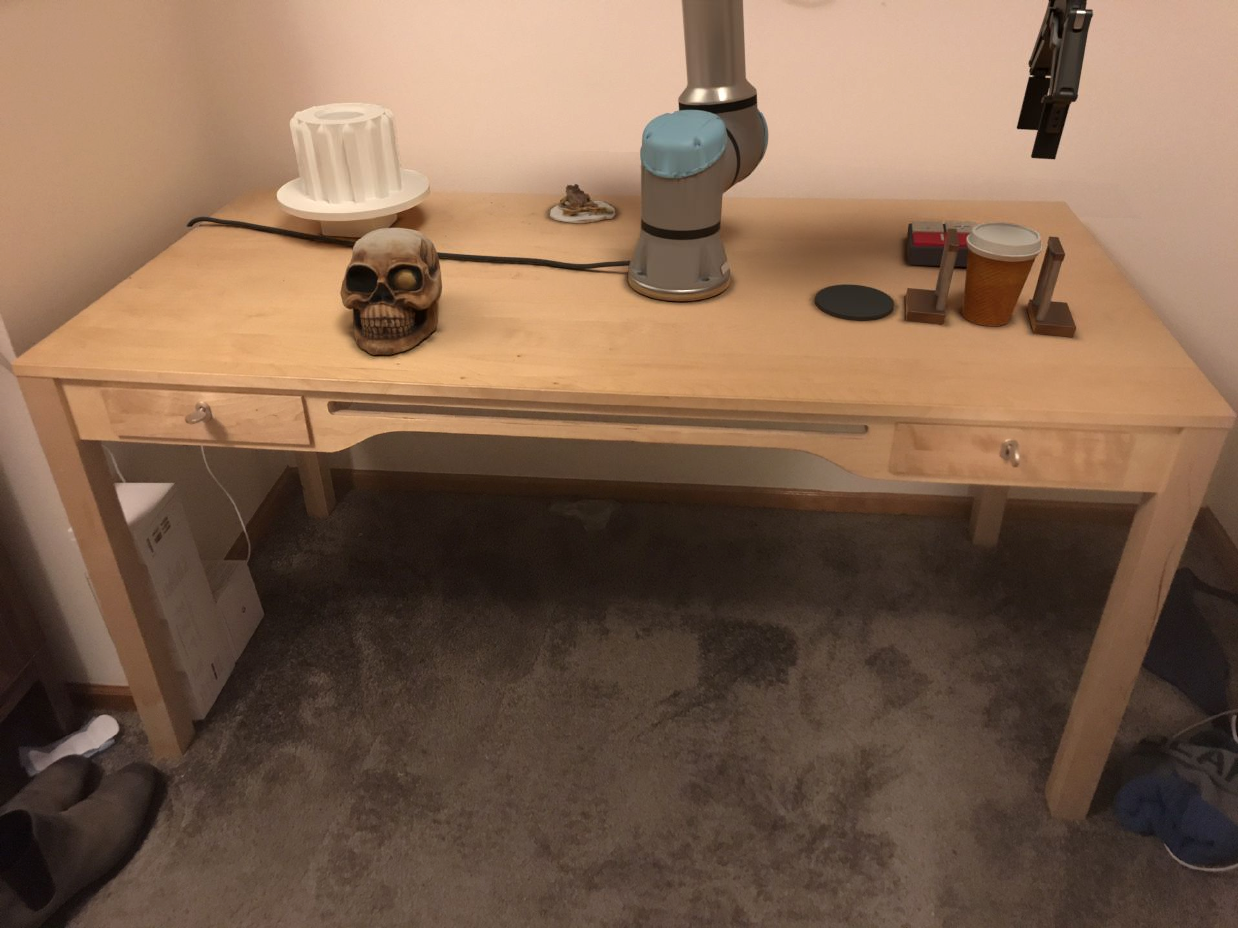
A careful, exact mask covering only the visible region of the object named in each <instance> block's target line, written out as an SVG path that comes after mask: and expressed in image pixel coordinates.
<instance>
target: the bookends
mask: <svg viewBox="0 0 1238 928" xmlns="http://www.w3.org/2000/svg"><path fill="white" fill-rule="evenodd" d="M1046 243H1047V245H1046V249H1045V253H1044V257H1043V260H1042V264H1041V267H1040V270H1039V275H1038V278H1037V281H1036V285H1035V289H1034V293H1033V296H1032V299H1031V298H1030V299H1029V300H1028V303H1027V307H1026V311H1027V314H1028V317H1029V322H1030V326H1031V329H1032V333H1033V334H1037V335H1044V336H1045V335H1046V336H1057V337H1058V336H1059V337H1064V338H1065V337H1067V338H1074V336H1075V333H1076V331H1077V326H1076V323H1075V321H1074V318H1073V315H1072V312H1071V309H1070V306H1069V304H1068V302H1063V301H1054V300H1052V298H1053V294H1054V292H1055V288H1056V284H1057V282H1058V278H1059V274H1060V272H1061V267H1062V264H1063V262H1064V261H1065V256H1066V253H1065V250H1064V247H1063V245H1062V241H1061V239H1060V237H1059V236H1048V240H1047V242H1046ZM958 249H959V241H958V234H957V229H948V230H947V236H946V241H945V246H944V251H943V256H942V260H941V265H940V266H939V270H938V275H937V279H936V284H935V289H923V288H914V287H907V288H906V293H905V321H906V322H915V323H925V324H933V325H934V324H935V325H944V324H945V320H946V316H947V315H946V314H947V313H946V306H947V301H948V297H949V292H950V288H951V285H952V284H951V283H952V278H953V275H954V269H955V266H954V265H955V261H956V256H957V252H958Z"/></svg>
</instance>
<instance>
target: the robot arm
mask: <svg viewBox="0 0 1238 928" xmlns="http://www.w3.org/2000/svg"><path fill="white" fill-rule="evenodd" d="M1087 4H1088V0H1048V3H1047V6H1046V10H1045V14H1044V17H1043V19H1042V21H1041V22H1042V23H1041V25H1040V28H1039V31H1038V34H1037V36H1036V37H1037V38H1036V40H1035V43H1034V46H1033V49H1032V52H1031V55H1030V57H1029V58H1030V59H1029V60H1028V63H1027V65H1028V68H1029V70H1028V72H1029V76H1028V79H1027V83H1026V87H1025V92H1024V94H1023V95H1024V96H1023V100H1022V104H1021V107H1020V112H1019V116H1018V120H1017V124H1016V129H1017V130H1024V131H1036V135H1035V138H1034V142H1033V147H1032V150H1031V155H1030V158H1031V159H1038V160H1039V159H1041V160H1056V158H1057V155H1058V152H1059V148H1060V143H1061V140H1062V139H1061V138H1062V136H1063V132H1064V128H1065V124H1066V122H1067V116H1068V113H1069V110H1070V106H1071V104H1072V103H1076V102H1077V100H1078V98H1079V94H1078V93H1079V88H1080V82H1081V76H1082V70H1083V65H1084V59H1085V54H1086V47H1087V41H1088V34H1089V29H1090V26H1091V23H1092V22H1091V21H1092V19H1093V16H1094V10H1093V9H1092V8H1089V9H1087ZM681 11H682V27H683V40H684V54H685V55H684V56H685V69H686V87H685V88H684V90H683V91H682V92H681V93H680V95H679V96H678V97H677V102H678V110H675V111H673V113H671V112H670V113H669V112H665V113H663V114H661V115H660V114H659V115H658V116H655V118H653V119H651V120H650V121H649V122H648V123H647V124H646V126H644V129H643V131H642V136H641V146H640V150H639V160H640V232H639V236H638V238H637V241H636V244H635V247H634V250H633V253H632V256H631V258H630V260H618V261H617V260H615V261H603V262H593V263H572V262H565V261H557V260H552V259H543V258H533V257H516V256H497V255H496V256H495V255H482V254H481V255H479V254H464V253H453V252H452V253H450V252H440V251H439V252H438V251H436V252H437V254H438V258H439V259H440V258H442V259H443V258H444V259H454V260H464V261H465V260H466V261H467V260H468V261H480V262H481V261H483V262H498V263H499V262H500V263H519V264H521V263H522V264H535V265H536V264H537V265H545V266H551V267H558V268H564V269H573V270H590V269H591V270H592V269H593V270H594V269H600V268H614V267H615V268H616V267H628V268H627V270H628V275H627V276H628V278H627V279H628V281H627V282H628V284H629V286H630V287H631V288H632V289H633V290H634V291H635V292H636V293H638V294H641V295H644V296H646V297H649V298H653V299H656V300H660V301H670V302H692V301H693V302H694V301H701V300H707V299H708V298H712V297H715V296H718V295H720V294H721V293H723V292H724V291H725V290H727V289H728V287H729V285H730V280H731V268H730V262H729V260H728V257H727V252H726V248H725V246H724V241H723V238H722V233H721V228H722V227H721V224H722V211H723V210H722V208H723V195H724V194H725V193H726V192H727V191H729V190H730V189H732V187H734V186H735V185H737V184H739V183H741V182H743V181H744V180H745V179H747V178H748V177H749V176H750V175H752V173H754V171H755V170H756V169H757V168H758V166H759V164H761V163H762V160H763V159H764V157H765V155H766V152H767V149H768V145H769V127H768V124H767V120H766V118H765V116H764V114H763V112H761V110H760V109H759V108H758V91H757V88H756V87H755V86H754V85H752V83H751V82H750V81H748V79H747V70H746V69H747V68H746V47H745V46H746V44H745V42H746V41H745V19H744V18H745V17H744V0H681ZM200 222H207V223H214V224H218V225H219V224H220V225H226V226H237V227H243V228H248V229H253V230H259V231H264V232H271V233H275V234H282V235H287V236H292V237H297V238H303V239H308V240H314V241H319V242H324V243H330V244H336V245H340V246H346V247H347V246H348V247H351V248H352V247H354V245H355V243H356V242H357V241H351V240H345V239H341V238H340V239H339V238H333V237H330V236H324V235H323V236H322V235H318V234H311V233H306V232H301V231H296V230H290V229H285V228H279V227H273V226H268V225H262V224H256V223H252V222H245V221H239V220H233V219H231V220H230V219H223V218H222V219H221V218H217V217H210V216H198V217H194V218H192V219H191V220H189V221H188V222H187V224H186V227H187V228H192V227H193V226H194V225H195V224H197V223H200Z"/></svg>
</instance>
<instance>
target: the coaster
mask: <svg viewBox="0 0 1238 928" xmlns="http://www.w3.org/2000/svg"><path fill="white" fill-rule="evenodd" d="M814 303H815V305H816V307H817V308H818V309H820V311H822V312H824V313H825V314H827V315H830V316H832V317H835V318H839V319H843V320H848V321H849V320H850V321H873V320H879V319H882V318H885V317H887V316H889V315H890V314H891V313H892V312H893V310H894V306H895V302H894V300H893V298H892V297H891V296H890V295H889V294H887V293H886V292H884V291H882V290H880V289H877V288H874V287H871V286H867V285H859V284H849V283H847V284H845V283H844V284H835V285H830V286H829V285H828V286H826V287H824V288H822V289H820V290H819V291H818V292H817V293H816V294H815V298H814Z"/></svg>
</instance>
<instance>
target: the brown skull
mask: <svg viewBox="0 0 1238 928" xmlns="http://www.w3.org/2000/svg"><path fill="white" fill-rule="evenodd" d="M355 242H356V243H355V245H354V247H353V248H352V254H351V259H350V261H349V263H348V265H347V266H346V269H345V273H344V277H343V279H342V281H341V282H342V283H341V287H340V292H339V293H340V298H341V303H342V305H343V306H344V308H345V309H347V310H352V333H353V337H354V339H355V342H356V345H357V346H358V347H359V348H360V349H362V350H364V351H366V352H367V353H368V354H369V355H373V356H389V355H394V354H398V353H403V352H406V351H409V350H411V349H413V348H414V347H416V346H417V345H419V344H420V343H421V342H422V341H423V340H424V339H426V338H428V337H429V336H430V334H431V333H434V332H435V331H436V330H437V326H438V322H439V310H438V309H439V308H438V301H439V300H440V299H441V296H442V293H443V290H442V289H443V281H442V279H443V278H442V271H441V264H440V257H438V254H437V252H438V251H437V249H436V247H435V244H434V243H433V241H432V240H431V239H430V238H429V237H427V236H426V235H425V234H423V233H422V232H420V231H417V230H415V229H412V228H404V227H389V228H382V229H378V230H375V231H372V232H370V233H368V234H366V235H364V236H363V237H362V238H359V239H358V240H357V241H355Z"/></svg>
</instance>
